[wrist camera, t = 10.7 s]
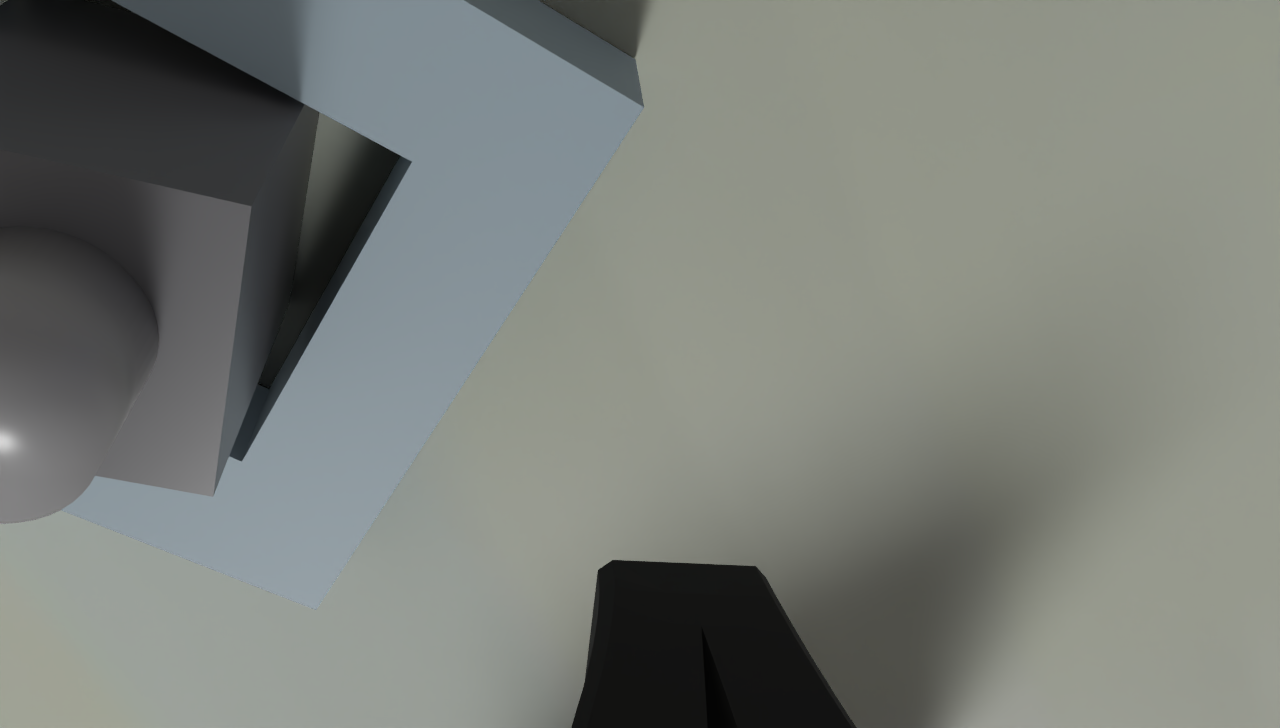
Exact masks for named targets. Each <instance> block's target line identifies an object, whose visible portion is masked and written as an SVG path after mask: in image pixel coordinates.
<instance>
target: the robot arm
mask: <svg viewBox="0 0 1280 728" xmlns="http://www.w3.org/2000/svg"><path fill="white" fill-rule="evenodd" d="M572 728H856V726H855V725H854V723H853V722H852V720H851V719H850V717H849V716H848V714H847V713H846V711H845V710H844V708H843V707H842V705H841V703H840V702H839V700H838V699H837V697H836V696H835V694H834V693H833V691H832V689H831V688H830V686H829V685H828V683H827V681H826V680H825V678H824V677H823V675H822V673H821V672H820V670H819V668H818V667H817V665H816V664H815V662H814V660H813V659H812V657H811V656H810V654H809V652H808V651H807V649H806V647H805V645H804V644H803V642H802V640H801V639H800V637H799V635H798V634H797V632H796V630H795V629H794V627H793V625H792V623H791V622H790V620H789V618H788V617H787V615H786V613H785V611H784V609H783V608H782V606H781V604H780V602H779V601H778V599H777V597H776V595H775V593H774V592H773V590H772V588H771V586H770V584H769V582H768V581H767V579H766V577H765V576H764V575H763V574H762V573H761V572H760V571H759V569H758V568H757V567H756V566H737V565H714V564H691V563H668V562H645V561H622V560H612V561H611V562H609V563H608V564H606V565H605V566H603V567H602V568H600V569H599V570H598V575H597V583H596V592H595V600H594V609H593V618H592V626H591V635H590V643H589V652H588V660H587V669H586V677H585V683H584V687H583V691H582V694H581V697H580V701H579V704H578V707H577V711H576V714H575V718H574V721H573V724H572Z"/></svg>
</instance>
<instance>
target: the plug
mask: <svg viewBox="0 0 1280 728" xmlns="http://www.w3.org/2000/svg"><path fill="white" fill-rule="evenodd" d="M318 117H319V112H318V111H317V110H315V109H313V108H311V107H309V106H307V105H305V104H303V103H302V102H300V101H298V100H296V99H294V98H292V97H290V96H289V95H287V94H285V93H283V92H281V91H279V90H277V89H276V88H274V87H272V86H270V85H268V84H266V83H264V82H263V81H261V80H259V79H257V78H255V77H253V76H251V75H249V74H248V73H246V72H244V71H242V70H240V69H238V68H236V67H235V66H233V65H231V64H229V63H227V62H225V61H223V60H222V59H220V58H218V57H216V56H214V55H212V54H210V53H209V52H207V51H205V50H203V49H201V48H199V47H197V46H195V45H194V44H192V43H190V42H188V41H186V40H184V39H182V38H181V37H179V36H177V35H175V34H173V33H171V32H169V31H168V30H166V29H164V28H162V27H160V26H158V25H156V24H154V23H153V22H151V21H149V20H147V19H145V18H143V17H141V16H140V15H138V14H136V13H132V12H128V11H124V10H120V9H116V8H112V7H108V6H104V5H100V4H96V3H92V2H88V1H84V0H8V1H6V2H5V3H3V4H2V5H0V524H6V523H19V522H25V521H31V520H36V519H39V518H42V517H45V516H49V515H51V514H53V513H55V512H57V511H60V510H62V509H63V508H65V507H66V506H68V505H69V504H71V503H73V502H74V501H75V500H76V499H77V498H78V497H79V496H81V495H82V494H83V492H84V491H85V490H86V489H87V488H88V486H89V485H90V484H91V482H92V480H93V478H94V477H95V476H99V477H105V478H110V479H116V480H122V481H127V482H133V483H138V484H144V485H150V486H155V487H161V488H166V489H172V490H178V491H183V492H189V493H194V494H200V495H205V496H211V497H213V496H214V493H215V491H216V488H217V486H218V483H219V481H220V478H221V476H222V473H223V470H224V468H225V465H226V463H227V460H228V458H229V455H230V453H231V450H232V447H233V445H234V442H235V440H236V437H237V435H238V432H239V430H240V427H241V425H242V422H243V419H244V417H245V414H246V412H247V409H248V407H249V404H250V402H251V399H252V397H253V394H254V391H255V389H256V386H257V384H258V381H259V379H260V376H261V374H262V371H263V369H264V366H265V363H266V361H267V358H268V356H269V353H270V351H271V348H272V346H273V343H274V341H275V338H276V335H277V333H278V330H279V328H280V325H281V323H282V320H283V318H284V315H285V313H286V310H287V307H288V305H289V302H290V296H291V290H292V283H293V277H294V271H295V264H296V258H297V251H298V245H299V239H300V232H301V226H302V219H303V213H304V207H305V200H306V194H307V187H308V181H309V174H310V168H311V162H312V155H313V149H314V142H315V136H316V130H317V123H318Z"/></svg>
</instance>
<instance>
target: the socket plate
mask: <svg viewBox="0 0 1280 728" xmlns="http://www.w3.org/2000/svg"><path fill="white" fill-rule="evenodd" d="M112 1H114V2H115V3H117V4H119V5H121V6H123V7H125V8H127V9H128V10H130V11H132V12H134V13H136V14H138V15H140V16H141V17H143V18H145V19H147V20H149V21H151V22H153V23H154V24H156V25H158V26H160V27H162V28H164V29H166V30H168V31H169V32H171V33H173V34H175V35H177V36H179V37H181V38H182V39H184V40H186V41H188V42H190V43H192V44H194V45H195V46H197V47H199V48H201V49H203V50H205V51H207V52H209V53H210V54H212V55H214V56H216V57H218V58H220V59H222V60H223V61H225V62H227V63H229V64H231V65H233V66H235V67H236V68H238V69H240V70H242V71H244V72H246V73H248V74H249V75H251V76H253V77H255V78H257V79H259V80H261V81H263V82H264V83H266V84H268V85H270V86H272V87H274V88H276V89H277V90H279V91H281V92H283V93H285V94H287V95H289V96H290V97H292V98H294V99H296V100H298V101H300V102H302V103H303V104H305V105H307V106H309V107H311V108H313V109H315V110H317V111H318V112H320V113H322V114H324V115H326V116H328V117H330V118H331V119H333V120H335V121H337V122H339V123H341V124H343V125H344V126H346V127H348V128H350V129H352V130H354V131H356V132H358V133H359V134H361V135H363V136H365V137H367V138H369V139H371V140H372V141H374V142H376V143H378V144H380V145H382V146H384V147H385V148H387V149H389V150H391V151H393V152H395V153H397V154H398V155H400V157H399V159H398V161H397V162H396V164H395V166H394V168H393V169H392V171H391V173H390V175H389V177H388V178H387V180H386V182H385V184H384V185H383V187H382V189H381V191H380V193H379V194H378V196H377V198H376V200H375V202H374V203H373V205H372V207H371V209H370V210H369V212H368V214H367V216H366V218H365V219H364V221H363V223H362V225H361V226H360V228H359V230H358V232H357V234H356V235H355V237H354V239H353V241H352V243H351V244H350V246H349V248H348V250H347V251H346V253H345V255H344V257H343V259H342V260H341V262H340V264H339V266H338V267H337V269H336V271H335V273H334V275H333V276H332V278H331V280H330V282H329V284H328V285H327V287H326V289H325V291H324V292H323V294H322V296H321V298H320V300H319V301H318V303H317V305H316V307H315V308H314V310H313V312H312V314H311V316H310V317H309V319H308V321H307V323H306V325H305V326H304V328H303V330H302V332H301V333H300V335H299V337H298V339H297V341H296V342H295V344H294V346H293V348H292V349H291V351H290V353H289V355H288V357H287V358H286V360H285V362H284V364H283V366H282V367H281V369H280V371H279V373H278V374H277V376H276V378H275V380H274V382H273V383H272V385H271V387H270V389H267V388H265V387H262V386H260V385H258V384H257V386H256V389H255V391H254V394H253V397H252V399H251V402H250V404H249V407H248V409H247V412H246V414H245V417H244V419H243V422H242V425H241V427H240V430H239V432H238V435H237V437H236V440H235V442H234V445H233V447H232V450H231V453H230V455H229V458H228V460H227V463H226V465H225V468H224V470H223V473H222V476H221V478H220V481H219V483H218V486H217V488H216V491H215V493H214V496H213V497H211V496H205V495H200V494H194V493H189V492H183V491H178V490H172V489H166V488H161V487H155V486H150V485H144V484H138V483H133V482H127V481H122V480H116V479H110V478H105V477H99V476H95V477H94V478H93V480H92V482H91V484H90V485H89V486H88V488H87V489H86V490H85V491H84V492H83V494H82V495H81V496H79V497H78V498H77V499H76V500H75V501H74V502H73V503H71V504H69V505H68V506H66V507H65V508H63V509H62V511H64V512H67V513H69V514H72V515H74V516H77V517H80V518H82V519H85V520H87V521H90V522H92V523H95V524H97V525H100V526H103V527H105V528H108V529H110V530H113V531H115V532H118V533H120V534H123V535H126V536H128V537H131V538H133V539H136V540H138V541H141V542H143V543H146V544H149V545H151V546H154V547H156V548H159V549H161V550H164V551H166V552H169V553H171V554H174V555H177V556H179V557H182V558H184V559H187V560H189V561H192V562H194V563H197V564H200V565H202V566H205V567H207V568H210V569H212V570H215V571H217V572H220V573H223V574H225V575H228V576H230V577H233V578H235V579H238V580H240V581H243V582H246V583H248V584H251V585H253V586H256V587H258V588H261V589H263V590H266V591H269V592H271V593H274V594H276V595H279V596H281V597H284V598H286V599H289V600H291V601H294V602H297V603H299V604H302V605H304V606H307V607H309V608H312V609H314V610H316V609H317V608H318V606H319V605H320V603H321V602H322V600H323V599H324V597H325V596H326V594H327V593H328V591H329V590H330V588H331V586H332V585H333V583H334V582H335V580H336V579H337V577H338V576H339V574H340V573H341V571H342V570H343V568H344V567H345V565H346V563H347V562H348V560H349V559H350V557H351V556H352V554H353V553H354V551H355V550H356V548H357V547H358V545H359V544H360V542H361V540H362V539H363V537H364V536H365V534H366V533H367V531H368V530H369V528H370V527H371V525H372V524H373V522H374V521H375V519H376V517H377V516H378V514H379V513H380V511H381V510H382V508H383V507H384V505H385V504H386V502H387V501H388V499H389V498H390V496H391V494H392V493H393V491H394V490H395V488H396V487H397V485H398V484H399V482H400V481H401V479H402V478H403V476H404V475H405V473H406V471H407V470H408V468H409V467H410V465H411V464H412V462H413V461H414V459H415V458H416V456H417V455H418V453H419V452H420V450H421V449H422V447H423V445H424V444H425V442H426V441H427V439H428V438H429V436H430V435H431V433H432V432H433V430H434V429H435V427H436V426H437V424H438V422H439V421H440V419H441V418H442V416H443V415H444V413H445V412H446V410H447V409H448V407H449V406H450V404H451V403H452V401H453V399H454V398H455V396H456V395H457V393H458V392H459V390H460V389H461V387H462V386H463V384H464V383H465V381H466V380H467V378H468V376H469V375H470V373H471V372H472V370H473V369H474V367H475V366H476V364H477V363H478V361H479V360H480V358H481V357H482V355H483V353H484V352H485V350H486V349H487V347H488V346H489V344H490V343H491V341H492V340H493V338H494V337H495V335H496V334H497V332H498V330H499V329H500V327H501V326H502V324H503V323H504V321H505V320H506V318H507V317H508V315H509V314H510V312H511V311H512V309H513V307H514V306H515V304H516V303H517V301H518V300H519V298H520V297H521V295H522V294H523V292H524V291H525V289H526V288H527V286H528V284H529V283H530V281H531V280H532V278H533V277H534V275H535V274H536V272H537V271H538V269H539V268H540V266H541V265H542V263H543V261H544V260H545V258H546V257H547V255H548V254H549V252H550V251H551V249H552V248H553V246H554V245H555V243H556V242H557V240H558V239H559V237H560V235H561V234H562V232H563V231H564V229H565V228H566V226H567V225H568V223H569V222H570V220H571V219H572V217H573V216H574V214H575V212H576V211H577V209H578V208H579V206H580V205H581V203H582V202H583V200H584V199H585V197H586V196H587V194H588V193H589V191H590V189H591V188H592V186H593V185H594V183H595V182H596V180H597V179H598V177H599V176H600V174H601V173H602V171H603V170H604V168H605V166H606V165H607V163H608V162H609V160H610V159H611V157H612V156H613V154H614V153H615V151H616V150H617V148H618V147H619V145H620V143H621V142H622V140H623V139H624V137H625V136H626V134H627V133H628V131H629V130H630V128H631V127H632V125H633V124H634V122H635V120H636V119H637V117H638V116H639V114H640V113H641V111H642V110H643V108H644V104H643V99H642V93H641V88H640V82H639V76H638V71H637V65H636V60H635V59H634V58H632V57H631V56H629V55H627V54H626V53H624V52H622V51H621V50H619V49H617V48H616V47H614V46H612V45H611V44H609V43H608V42H606V41H604V40H603V39H601V38H599V37H598V36H596V35H594V34H593V33H591V32H589V31H588V30H586V29H584V28H583V27H581V26H580V25H578V24H576V23H575V22H573V21H571V20H570V19H568V18H566V17H565V16H563V15H561V14H560V13H558V12H557V11H555V10H553V9H552V8H550V7H548V6H547V5H545V4H543V3H542V2H540V1H538V0H112Z"/></svg>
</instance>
